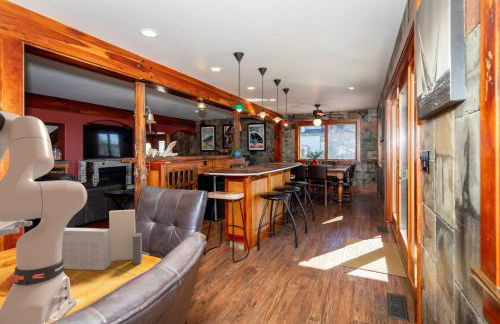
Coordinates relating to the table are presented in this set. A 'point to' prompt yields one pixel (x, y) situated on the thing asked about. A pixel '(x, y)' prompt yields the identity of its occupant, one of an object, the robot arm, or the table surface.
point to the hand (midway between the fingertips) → (25, 226)
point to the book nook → (124, 236)
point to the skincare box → (86, 248)
